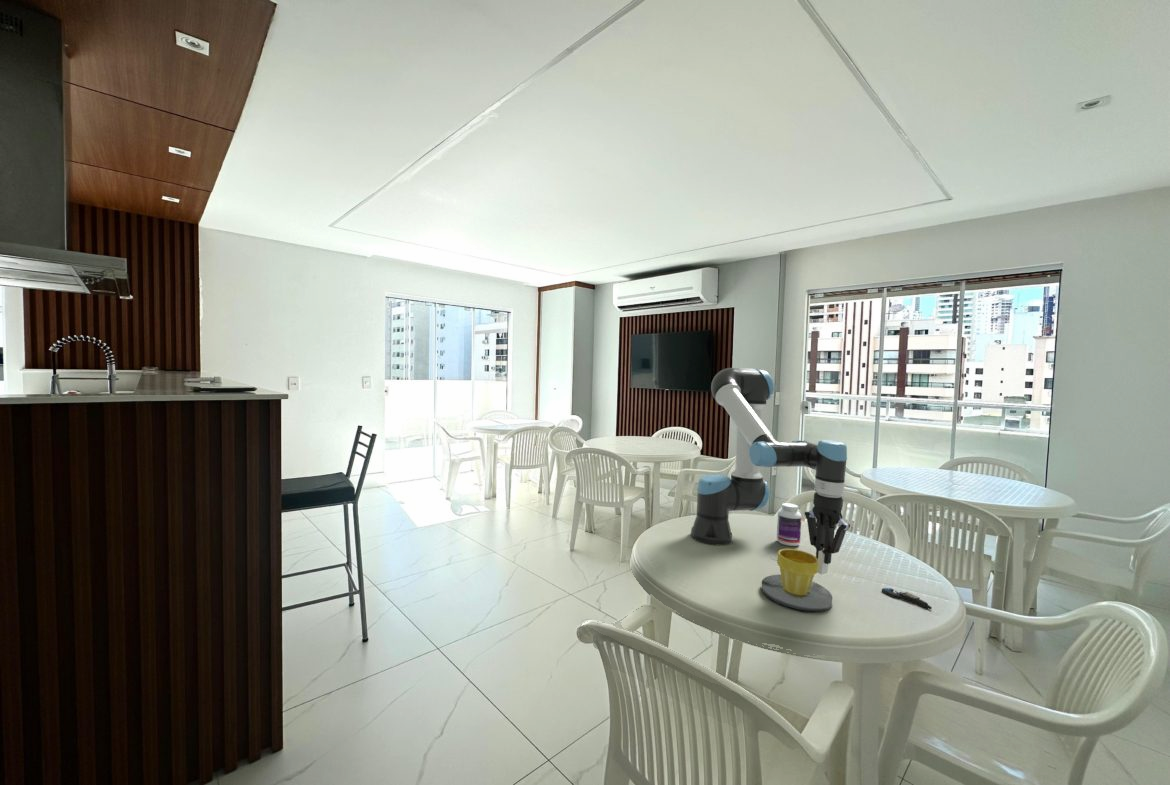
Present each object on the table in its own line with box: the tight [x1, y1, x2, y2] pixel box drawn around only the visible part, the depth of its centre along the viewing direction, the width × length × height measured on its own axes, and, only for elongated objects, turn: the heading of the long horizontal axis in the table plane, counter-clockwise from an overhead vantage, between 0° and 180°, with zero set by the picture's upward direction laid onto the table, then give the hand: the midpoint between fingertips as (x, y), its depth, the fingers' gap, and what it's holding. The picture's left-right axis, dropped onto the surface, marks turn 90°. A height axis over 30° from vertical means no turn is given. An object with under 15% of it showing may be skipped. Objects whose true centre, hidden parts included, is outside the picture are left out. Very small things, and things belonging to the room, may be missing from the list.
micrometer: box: [881, 587, 932, 610], centre depth 127 cm, size 12×2×5 cm
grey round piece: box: [761, 574, 833, 612], centre depth 128 cm, size 18×23×6 cm
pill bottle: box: [776, 502, 802, 547], centre depth 167 cm, size 8×8×14 cm
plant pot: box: [776, 548, 818, 595], centre depth 125 cm, size 10×10×10 cm
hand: (822, 572), depth 132 cm, fingers closed
